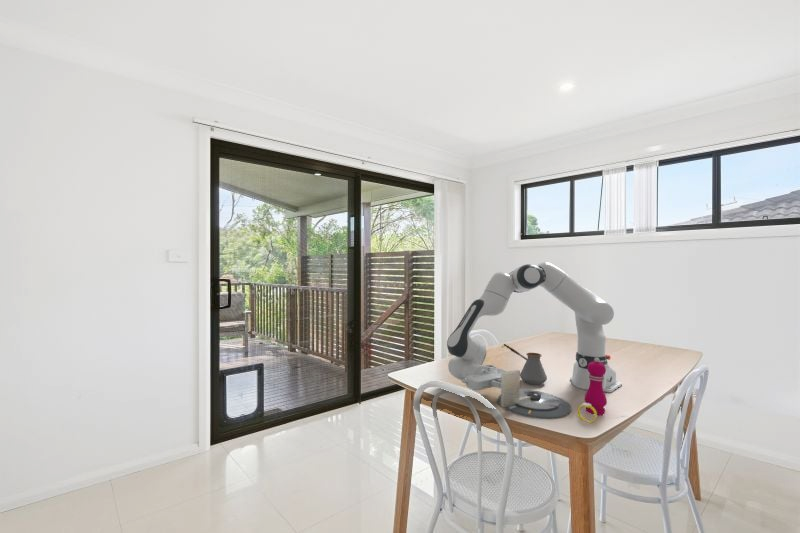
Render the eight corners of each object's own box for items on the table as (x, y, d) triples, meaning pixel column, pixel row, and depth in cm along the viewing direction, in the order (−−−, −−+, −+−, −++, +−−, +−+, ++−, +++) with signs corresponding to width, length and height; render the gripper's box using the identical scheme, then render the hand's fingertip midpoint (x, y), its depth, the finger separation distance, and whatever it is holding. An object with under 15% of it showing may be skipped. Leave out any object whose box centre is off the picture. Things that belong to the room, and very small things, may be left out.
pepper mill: (609, 417, 135) (611, 360, 134) (587, 414, 136) (589, 359, 136) (602, 409, 142) (604, 355, 141) (581, 407, 143) (583, 354, 143)
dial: (530, 390, 158) (531, 358, 157) (569, 404, 142) (570, 369, 142) (484, 401, 144) (485, 366, 144) (522, 419, 129) (523, 380, 128)
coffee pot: (551, 383, 171) (552, 349, 171) (539, 389, 163) (540, 354, 163) (508, 372, 186) (508, 341, 186) (495, 377, 178) (496, 345, 178)
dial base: (528, 388, 163) (528, 385, 163) (585, 409, 141) (585, 406, 141) (484, 399, 149) (484, 396, 149) (539, 424, 127) (540, 420, 127)
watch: (576, 420, 132) (576, 403, 132) (579, 418, 134) (578, 401, 134) (595, 424, 128) (594, 406, 128) (598, 422, 130) (597, 404, 130)
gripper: (459, 371, 148) (484, 381, 136) (496, 364, 159) (523, 373, 147) (458, 387, 148) (484, 399, 136) (496, 379, 159) (522, 389, 147)
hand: (504, 385), depth 142 cm, fingers closed
